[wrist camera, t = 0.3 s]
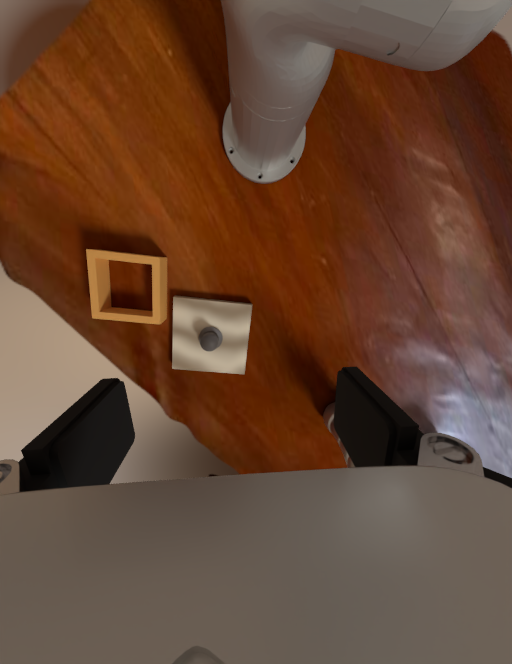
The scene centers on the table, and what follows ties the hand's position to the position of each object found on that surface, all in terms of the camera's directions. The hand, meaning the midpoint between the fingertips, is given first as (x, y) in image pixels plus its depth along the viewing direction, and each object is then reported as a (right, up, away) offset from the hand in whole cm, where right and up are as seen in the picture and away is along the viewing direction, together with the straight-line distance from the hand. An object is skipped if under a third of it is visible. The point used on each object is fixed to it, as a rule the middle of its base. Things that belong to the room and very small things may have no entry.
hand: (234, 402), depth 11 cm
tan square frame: (-21, +11, +32) cm, 40 cm away
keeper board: (-8, +2, +36) cm, 37 cm away
